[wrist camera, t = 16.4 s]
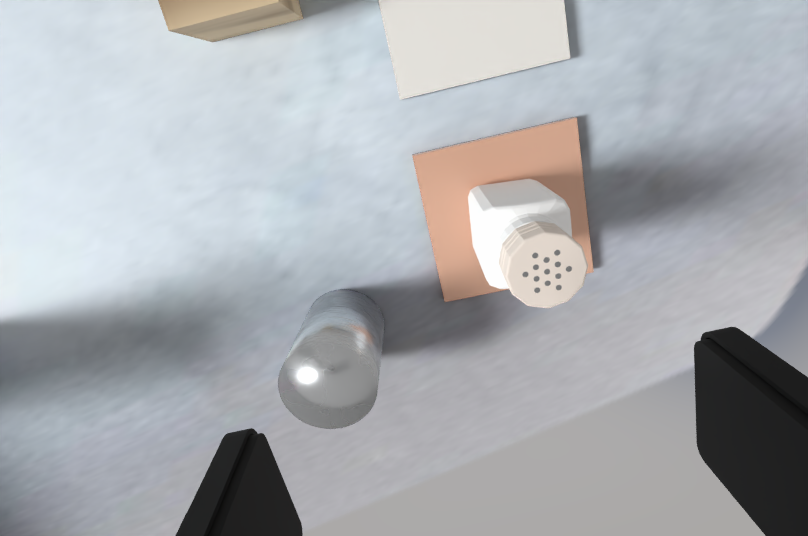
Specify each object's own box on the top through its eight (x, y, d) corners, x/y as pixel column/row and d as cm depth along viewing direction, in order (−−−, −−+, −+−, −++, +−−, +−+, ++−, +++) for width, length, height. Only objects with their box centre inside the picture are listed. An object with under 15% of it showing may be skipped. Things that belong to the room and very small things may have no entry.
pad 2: (412, 154, 28) (412, 155, 27) (573, 117, 27) (576, 117, 26) (444, 298, 30) (444, 302, 30) (589, 268, 30) (593, 272, 29)
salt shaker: (472, 252, 29) (499, 324, 20) (465, 185, 27) (491, 229, 19) (541, 243, 29) (600, 312, 20) (537, 175, 27) (598, 214, 18)
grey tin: (296, 298, 31) (264, 353, 24) (374, 281, 30) (363, 334, 24) (319, 366, 32) (294, 436, 26) (392, 352, 32) (387, 419, 25)
